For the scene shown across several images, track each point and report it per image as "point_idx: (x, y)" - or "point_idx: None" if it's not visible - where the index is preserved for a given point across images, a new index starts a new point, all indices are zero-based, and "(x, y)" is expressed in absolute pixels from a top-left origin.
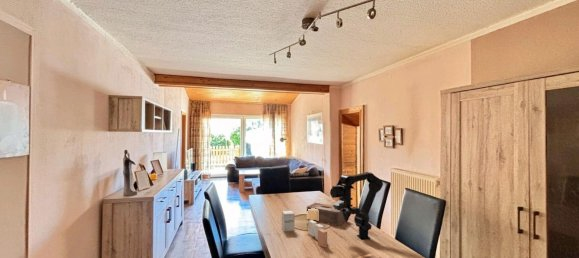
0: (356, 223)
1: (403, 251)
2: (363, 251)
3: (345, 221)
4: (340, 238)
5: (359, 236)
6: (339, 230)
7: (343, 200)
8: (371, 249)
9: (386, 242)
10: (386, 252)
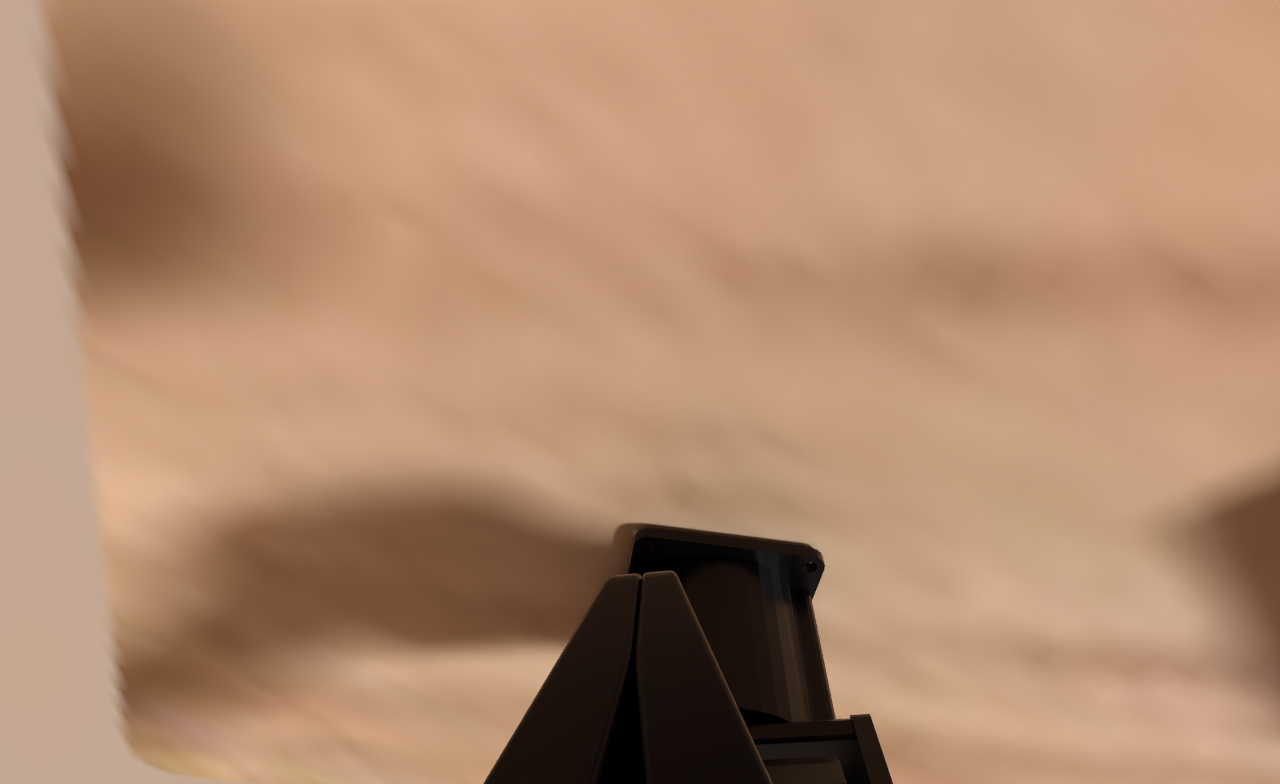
0: (786, 772)
1: (152, 727)
2: (121, 293)
3: (640, 576)
4: (868, 200)
5: (725, 560)
6: (1256, 416)
7: None
8: (214, 457)
9: (444, 726)
10: (106, 572)
